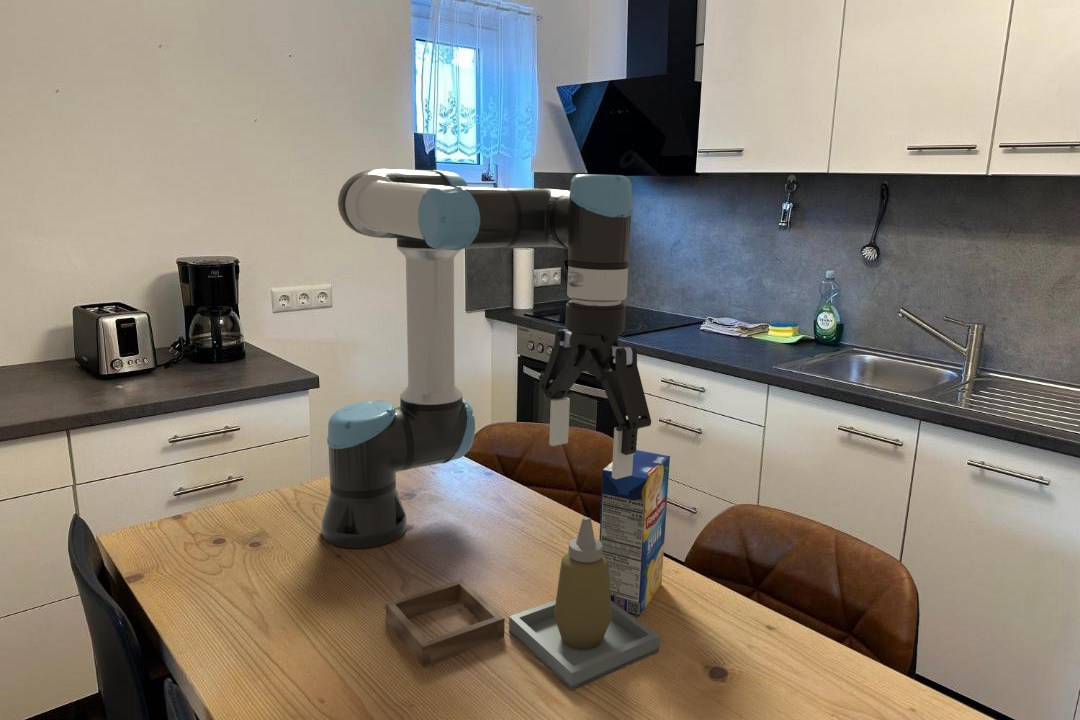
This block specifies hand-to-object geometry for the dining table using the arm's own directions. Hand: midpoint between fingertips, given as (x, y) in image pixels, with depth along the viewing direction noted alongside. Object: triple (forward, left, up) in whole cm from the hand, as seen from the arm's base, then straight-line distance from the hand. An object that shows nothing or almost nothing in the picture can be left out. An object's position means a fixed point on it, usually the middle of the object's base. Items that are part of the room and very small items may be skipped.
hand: (588, 459), depth 97 cm
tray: (0, 0, -27) cm, 27 cm away
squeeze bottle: (0, 0, -27) cm, 27 cm away
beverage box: (-6, +14, -27) cm, 31 cm away
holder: (-13, -15, -27) cm, 33 cm away
